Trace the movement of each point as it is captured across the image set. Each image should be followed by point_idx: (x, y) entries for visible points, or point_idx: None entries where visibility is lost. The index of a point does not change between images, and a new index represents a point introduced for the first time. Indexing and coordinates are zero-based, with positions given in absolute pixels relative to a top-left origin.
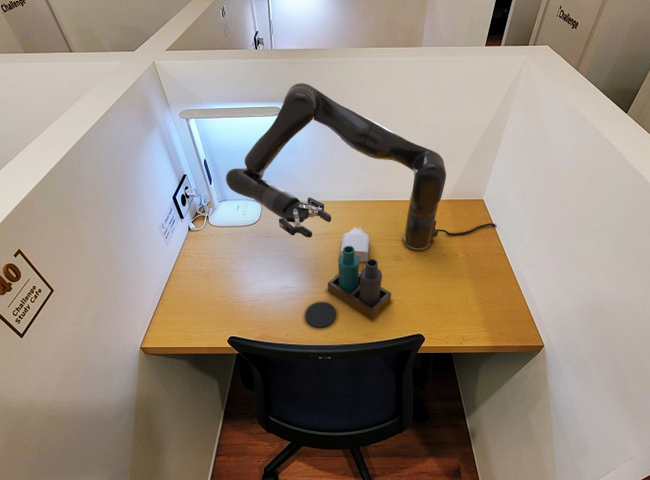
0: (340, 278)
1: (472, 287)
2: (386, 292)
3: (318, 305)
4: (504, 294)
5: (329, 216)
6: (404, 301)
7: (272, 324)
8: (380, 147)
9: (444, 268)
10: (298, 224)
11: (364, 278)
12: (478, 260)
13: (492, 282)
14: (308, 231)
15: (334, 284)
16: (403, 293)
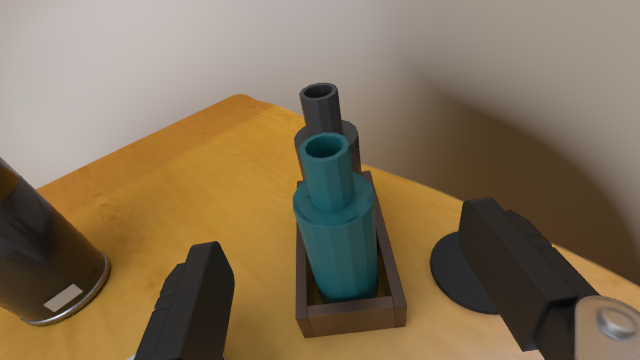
0: (375, 246)
1: (185, 154)
2: None
3: (470, 294)
4: (180, 130)
5: (203, 244)
6: (283, 189)
7: None
8: None
9: (154, 197)
10: (610, 344)
11: (352, 133)
12: (109, 178)
13: (160, 146)
14: (497, 207)
15: (391, 283)
16: (265, 201)
